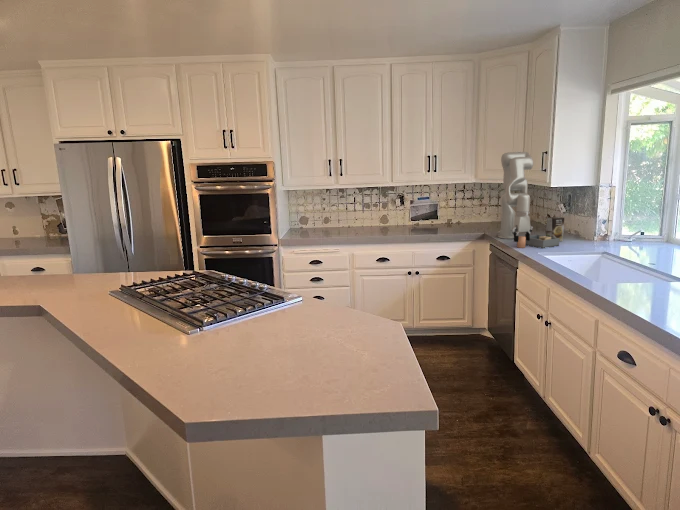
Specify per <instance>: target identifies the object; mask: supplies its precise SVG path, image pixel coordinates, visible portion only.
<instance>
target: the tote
mask: <svg viewBox="0 0 680 510" xmlns="http://www.w3.org/2000/svg"><path fill="white" fill-rule="evenodd" d="M542 236H544V235H542V234H530V240H529V241H528V240H526V245H525V246H528V245H529V246H528V247H533V246H534V248H538V247H541V248H540V249H546V248H545V247H549V248H554V246H556V247H560V242H559V238H555V237H551V239H548V240H539V237H542ZM547 237H549V236H547Z"/></svg>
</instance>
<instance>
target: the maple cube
mask: <svg viewBox="0 0 680 510" xmlns="http://www.w3.org/2000/svg"><path fill="white" fill-rule="evenodd" d="M548 239H551V237H547V236H546V235H543V236H542V237H539V240H548Z"/></svg>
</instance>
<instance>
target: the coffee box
mask: <svg viewBox="0 0 680 510" xmlns="http://www.w3.org/2000/svg"><path fill="white" fill-rule="evenodd" d="M546 218H547V219H546V230H545V236H549V237H555V238H559V243H560V242H563V241H564V231H565V229H564V228H565V217H561V216H553V217H546Z"/></svg>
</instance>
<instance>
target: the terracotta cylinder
mask: <svg viewBox="0 0 680 510" xmlns="http://www.w3.org/2000/svg"><path fill="white" fill-rule="evenodd" d="M526 246H527V245H526V236H525V235H518V242H516V248H518V249H526Z"/></svg>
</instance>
